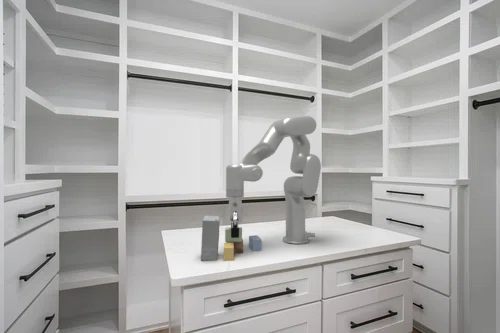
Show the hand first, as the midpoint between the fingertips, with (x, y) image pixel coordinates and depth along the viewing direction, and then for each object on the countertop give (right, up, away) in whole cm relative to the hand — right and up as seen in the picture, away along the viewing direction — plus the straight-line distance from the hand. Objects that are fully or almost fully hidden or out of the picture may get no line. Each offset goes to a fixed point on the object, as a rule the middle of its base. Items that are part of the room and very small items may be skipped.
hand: (234, 234), depth 107 cm
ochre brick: (-2, -7, -7) cm, 10 cm away
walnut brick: (0, -7, 0) cm, 7 cm away
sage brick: (0, -2, 0) cm, 2 cm away
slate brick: (+9, -8, +5) cm, 12 cm away
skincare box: (-9, -7, -7) cm, 14 cm away
